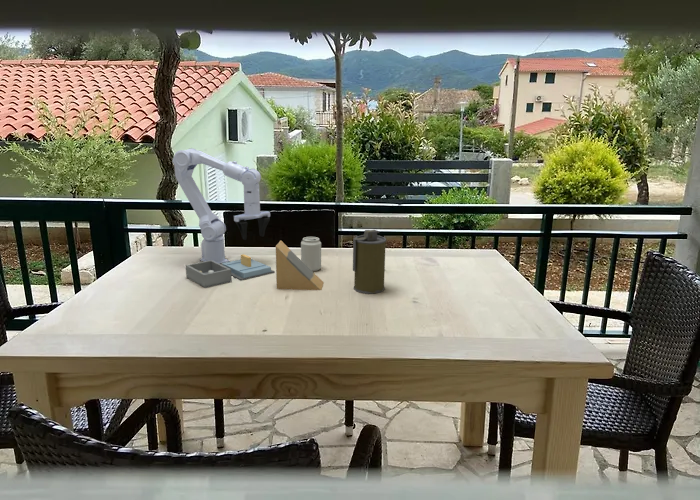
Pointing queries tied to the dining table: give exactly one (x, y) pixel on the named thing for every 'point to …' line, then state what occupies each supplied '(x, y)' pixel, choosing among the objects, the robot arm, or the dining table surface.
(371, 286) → the canister
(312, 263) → the can
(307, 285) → the sandwich container
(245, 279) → the mat
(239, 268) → the lid
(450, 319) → the dining table surface
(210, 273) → the parts tub
